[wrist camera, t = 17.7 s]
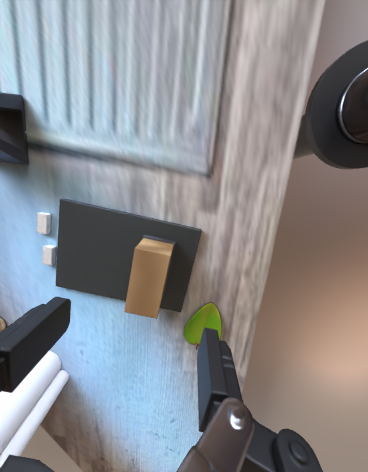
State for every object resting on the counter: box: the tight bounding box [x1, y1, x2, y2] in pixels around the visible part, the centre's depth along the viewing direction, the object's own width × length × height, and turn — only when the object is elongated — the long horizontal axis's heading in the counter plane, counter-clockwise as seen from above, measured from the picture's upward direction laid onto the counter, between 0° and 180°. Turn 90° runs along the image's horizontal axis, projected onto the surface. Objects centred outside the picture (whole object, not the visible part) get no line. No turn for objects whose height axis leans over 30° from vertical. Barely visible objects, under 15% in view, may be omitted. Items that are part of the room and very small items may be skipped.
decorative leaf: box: [184, 303, 221, 350], centre depth 34 cm, size 8×9×1 cm
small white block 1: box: [37, 212, 51, 234], centre depth 30 cm, size 2×3×1 cm, turn 167°
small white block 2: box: [42, 245, 56, 266], centre depth 31 cm, size 2×3×1 cm, turn 167°
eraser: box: [125, 235, 176, 319], centre depth 27 cm, size 5×10×6 cm, turn 167°
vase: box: [0, 351, 69, 467], centre depth 28 cm, size 11×7×20 cm, turn 9°
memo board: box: [56, 199, 202, 312], centre depth 31 cm, size 22×15×1 cm
